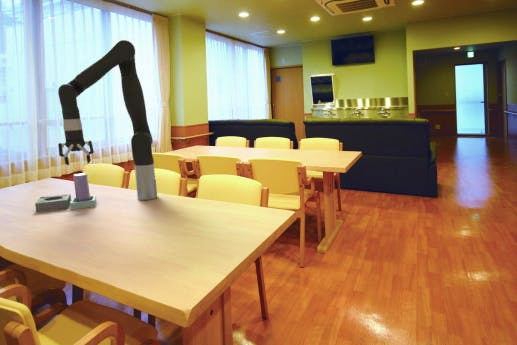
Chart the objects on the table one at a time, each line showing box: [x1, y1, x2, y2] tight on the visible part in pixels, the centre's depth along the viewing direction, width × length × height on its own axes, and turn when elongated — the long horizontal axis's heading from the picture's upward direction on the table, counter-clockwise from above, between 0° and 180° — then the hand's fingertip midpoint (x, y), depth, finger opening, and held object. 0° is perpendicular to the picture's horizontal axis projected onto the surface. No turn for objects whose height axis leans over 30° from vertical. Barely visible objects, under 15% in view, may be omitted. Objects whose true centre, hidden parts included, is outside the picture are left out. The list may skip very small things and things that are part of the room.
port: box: [34, 193, 72, 213], centre depth 173 cm, size 13×13×4 cm
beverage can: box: [73, 172, 91, 202], centre depth 173 cm, size 6×6×15 cm
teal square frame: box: [69, 194, 97, 210], centre depth 174 cm, size 10×10×3 cm
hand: (78, 164), depth 170 cm, fingers open, 8 cm apart
